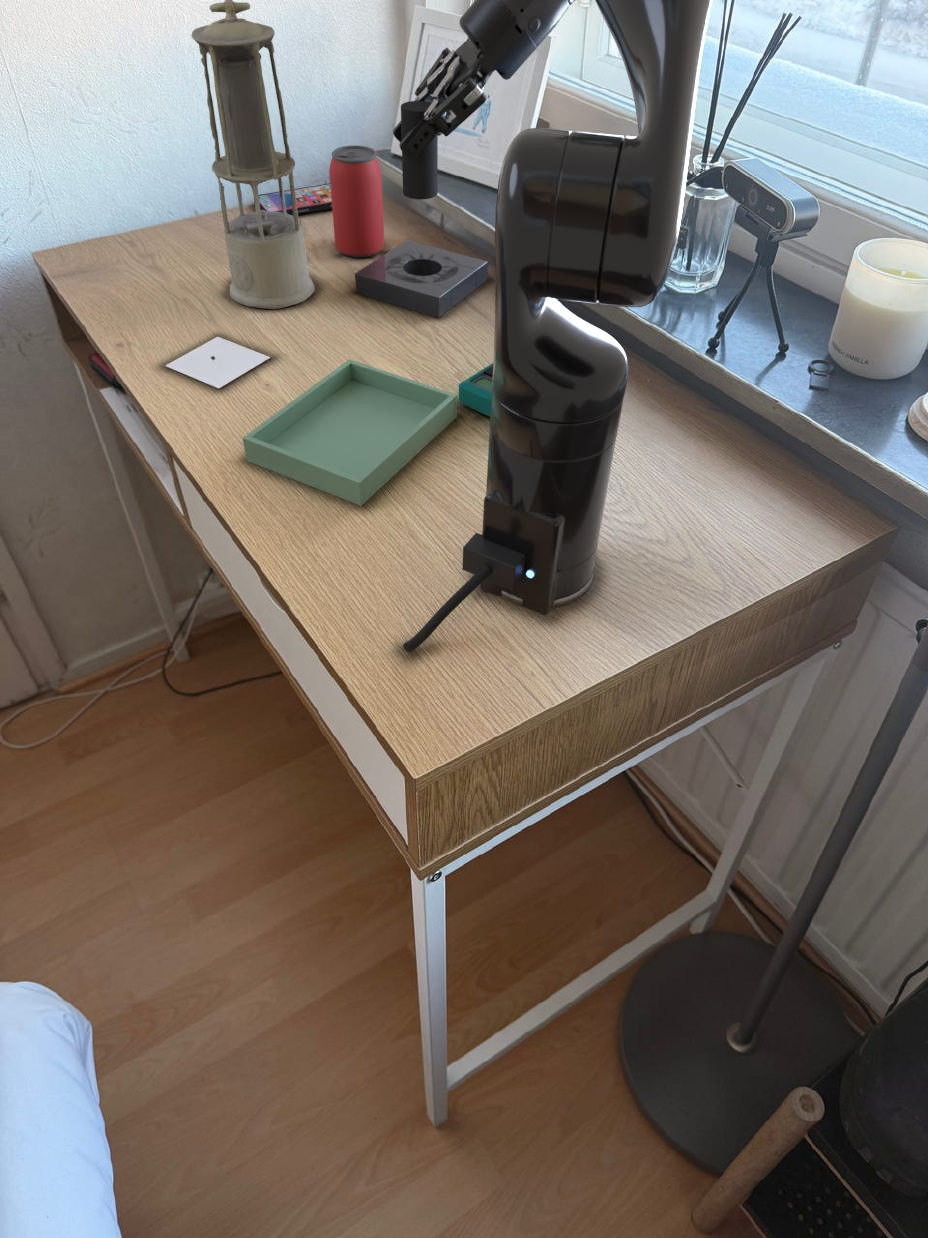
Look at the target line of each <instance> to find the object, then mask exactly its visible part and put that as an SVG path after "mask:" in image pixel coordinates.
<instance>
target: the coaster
mask: <svg viewBox="0 0 928 1238" xmlns="http://www.w3.org/2000/svg"><path fill="white" fill-rule="evenodd" d="M270 358H271V357H270V356H268V355H266V354H263V353H260V352H258V351H256V350H253V349H250V348H248V347H245V346H243V345H240V344H237V343H235V342H233V341H230V340H229V339H228V340H227V339H225V338H222V337H220V336H216V337H213V339H211V340H209V341H207V342H205V343H203V344H202V345H200V346H197V347H196V348H195V349H192V350H190V351H189V352H187V353H186V354H184V355H182V356H179V357H178V358H176V359H175V360H173V361H171V362H169V363H167V364H166V365H164V367H167V368H169V369H171V370H174V371H176V372H179V373H181V374H183V375H186V376H188V377H191V378H193V379H195V380H196V381H197V380H198V381H200V382H203V383H204V384H207V385H209V386H212V387H213V388H216V389H221V388H222V387H224V386H225V385H227V384H229V383H230V382H232V381H234V380H235V379H237V378H239V377H241V376H242V375H244V374H245V373H247V372H249V371H250V370H252V369H254V368H256V367H258V366H259V365H261V364H262V363H264V362H265V361H267V360H269V359H270Z"/></svg>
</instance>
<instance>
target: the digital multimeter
mask: <svg viewBox="0 0 928 1238" xmlns="http://www.w3.org/2000/svg"><path fill="white" fill-rule="evenodd" d="M492 379H493V362H492V363H491V364H489V365H488V366H486V367H484V368H483V369H481V370H480V371H478V372H476V373H475V374H473V375H471V376H470V377H468V378H467V379H465V380H463V381H461V382H460V383H459V384H458V395H457V401H458V402H460V403H461V404H462V405H464V406H466V407H469V408H470V409H472V410H473V411H476V412H478V413H480V414H483V415H485V416H487V417H489V418H490V417H491V399H492Z"/></svg>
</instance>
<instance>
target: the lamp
mask: <svg viewBox="0 0 928 1238" xmlns="http://www.w3.org/2000/svg"><path fill="white" fill-rule="evenodd" d="M250 9H251V4H250V3H249V2H246V1H245V2H239V1H237V2H236V1H234V0H224V1H223V2H215V3H212V4H210V5H209V10H210V12H211V13H225V14H226V15H225V17H224V18H222V19H218V20H215V21H213V22H211V23H210V24H206V25H203V26H199V27H197V28H194V29H193V30H192V32H191V38H192V40H194V41H195V43H197V45H198V49H199V53H200V55H201V57H202V58H201V60H200V61H201V64H202V65H203V71H204V72H203V73H204V78H205V79H204V80H205V84H206V92H207V95H206V97H207V98H206V102H207V103H206V105H207V107H208V114H209V125H210V131H211V136H212V138H213V141H214V151H215V152H214V159H215V160H214V162H213V163H212V164H211V171H212V172H213V173H214V174H215V176H216V178H217V183H218V190H219V200H220V210H221V214H222V215H221V216H222V221H223V228H224V229H223V232H224V239H225V244H226V245H225V246H226V250H227V258H228V263H229V264H228V265H229V271H230V277H231V283H230V285H229V296H230V298H231V299H232V300H234V301H235V302H237V303H238V304H240V305H243V306H246V307H250V308H259V309H270V310H277V309H284V308H286V307H290V306H295V305H297V304H300V303H302V302H305V301H306V300H308V298H310V297H311V296H312V295H313V293H314V291H315V290H316V287H315V285H314V281H313V280H312V277H311V276H310V273H309V264H308V258H307V253H306V252H307V251H306V245H305V239H304V228H303V224H302V221H301V220H300V218H299V214H298V211H297V203H296V195H295V189H296V188H295V181H294V175H293V173H294V169H295V167H296V160H295V159H294V158H293V157H292V156H291V151H290V146H289V143H288V133H287V124H286V123H287V122H286V115H285V109H284V108H285V107H284V103H283V102H284V101H283V96H282V92H281V89H280V85H279V84H280V83H279V78H278V74H277V68H276V60H275V55H274V53H275V48H274V43H273V39H274V37H275V33H276V32H275V29H274V28H273V27H272V26H269V25H266V24H262V23H258V22H254V21H249V20H247V19H245V18H238V16H237V14H239V13H242V12H245V11H249V10H250ZM263 48H265V49H267V51H268V55H269V60H270V65H271V71H272V78H273V82H274V88H275V94H276V100H277V107H278V112H279V118H280V126H281V132H282V140H283V145H284V153H283V152H281V151H276V149H275V144H274V139H273V134H272V133H273V132H272V124H271V119H270V112H269V106H268V100H267V95H266V86H265V81H264V77H263V68H262V67H263V66H262V62H261V60H262V54H261V53H260V51H261V49H263ZM207 54H209V56H210V61H211V67H212V73H213V83H214V92H215V98H216V104H217V112H218V119H219V125H220V131H221V136H222V142H223V147H224V148H223V149H224V155H223V156H221V150H220V143H219V142H220V141H219V135H218V128H217V121H216V115H215V114H216V113H215V108H214V100H213V96H212V91H211V83H210V82H211V81H210V74H209V68H208V56H207ZM283 177H288V182H289V190H290V191H291V199H292V209H293V215H289V214H287V213H286V208H285V197H284V191H285V190H284V184H283V183H284V182H283V179H282V178H283ZM221 179H223V180H225V181H228V182H229V183H232V184H234V185H235V189H236V195H237V196H236V197H237V203H238V208H239V209H238V210H239V215H238V216H236V217H234V218H232V219H230V220H229V217H228V216H229V215H228V210H227V209H228V208H227V204H226V197H225V185H223V182H222V181H221ZM271 180H275V181H276V180H277V182H278V183H277V184H278V192H279V191H280V198H281V207H282V212H273V211H265V210H260V204H259V196H258V195H259V188H258V186H259V184H260V185H261V184H263V183H265V182H269V181H271ZM241 184H244V185H249V186H250V188H251V191H252V195H253V202H254V201H255V203H254V207H255V211H253V212H248V213H245V212H244V204H243V203H244V201H243V195H242V194H243V193H242V189H241Z"/></svg>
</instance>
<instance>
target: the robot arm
mask: <svg viewBox="0 0 928 1238" xmlns="http://www.w3.org/2000/svg"><path fill="white" fill-rule="evenodd" d="M575 1H576V0H474V1H473V2H472V4H471V5H470V6H469V7H468V8H467V9H466V11H465V12H464V13H463V15H462V16H461V17H460V19H459V21H458V22H459V27H460V29H461V30H462V31H463V32H464V33H465V35H466V36H467V38H466V40H465V41H464V42H463V43H462V44H461V45H460V46H459V47H457V48H456V49H453V50H452V51H451V50H450V49H449V47H446V48H444V49H443V50H442V51H441V53H440V55H439V56H438V57H437V59H436V60H435V62H434V63H433V65H432V66H431V68H430V69H429V70H428V72H427V74H426V75H425V76H424V78H423V79H422V81H421V82H420V84H419V85H418V86H417V88H416V89H415V91H414V95H415V96H416V97H415V98H414V100H413V101H427V102H432V104H431V105H430V106H429V108H428V109H427V111H426V112H425V113H424V115H423V117H422V119H423V120H424V121H423V120H422V119H420V120H419V121H418V122H417V123H416V124H415V126H414V127H413V128H412V129H411V130H410V131H409V133H408V134H407V135H406V136H405V137H404V139H403V140H402V135H401V120H400V121H399V122H398V123H397V124H396V125H395V127H394V128H393V130H392V134H393V137H394V138H395V139H396V140H397V141H398V142H399V149H400V150H401V153H402V152H403V153H404V154H405V155H406V156H407V157H408V158H409V159H410V160H415V159H416V158H417V157H418V156H419V155H420V154H421V153H422V151H423V150H424V149H425V148H426V147H427V146H428V144H429V143H430V142H431V141H432V140H433V139H434V137H435V136H436V134H437V135H438V137H441V135H444V137H448V136H449V135H451V134H452V133H453V132H454V131H455V130H456V129H458V127H459V126H460V125H462V124H463V123H464V122H465V121H466V120H468V118H469V117H471V116H472V115H473V114H474V113H475V112H476V111H477V110H479V108H480V107H482V105H484V104H485V103H486V101H487V99H488V96H487V94H486V93H485V92H484V91H483V90H484V89H485V85H486V84H487V82H488V81H489V79H490V78H491V77H492V75H493V73H494V72H495V71H496V72H497V74H498V75H499V76H500V77H501V78H502V79H503V80H504V81H505V80H506V81H508V80H510V79H511V78H512V77H513V76H514V75H515V73H516V72H517V71H518V70H520V68H521V67H522V65H524V63H525V62H526V61H527V60H528V59H529V58H530V57H531V56H532V54H533V53H534V52H535V51H536V49H537V48H538V47H539V46H541V44H542V43H543V41H545V39H547V37H548V36H549V35H550V34H551V33H552V31H553V30H554V29H555V28H556V27H557V25H558V24H559V22H560V21H561V19H562V18H563V17H564V15H565V13H566V12H567V11H568V9H569V8H570V6H571V5H573V4H574V2H575ZM594 2H595V3H596V6H597V8H598V10H599V12H600V14H601V16H602V19H603V20H604V22H605V24H606V27H607V28H608V30H609V32H610V35H611V37H612V38H613V41H614V42H615V45H616V47H617V49H618V52H619V54H620V56H621V59H622V62H623V65H624V68H625V71H626V74H627V77H628V78H627V79H628V81H629V85H630V88H631V91H632V97H633V101H634V107H635V115H636V123H637V130H638V131H637V133H638V135H636V136H630V135H626V136H625V137H624V135H621V134H620V135H619V134H611V133H610V134H609V133H597V132H589V131H580V130H579V131H578V130H571V129H570V130H568V129H558V128H547V127H546V128H545V127H532V128H530V127H529V128H526V129H523V130H522V131H521V132H519V133H517V134H516V136H515V137H514V138H513V139H512V141H511V142H510V144H509V145H508V148H507V149H506V153H505V155H504V158H503V160H502V164H501V167H500V172H499V176H498V177H499V178H498V184H497V193H496V200H495V201H496V202H495V216H494V217H495V220H494V221H495V223H494V228H495V229H494V272H495V273H494V275H495V276H494V281H495V282H494V283H495V284H494V285H495V289H494V290H495V295H494V296H495V297H494V299H495V300H494V301H495V303H494V335H493V336H494V337H493V361H492V363H493V379H492V399H491V417H489V431H488V432H489V435H488V450H487V451H488V453H487V470H486V471H487V473H486V488H485V489H486V491H485V496H484V499H483V510H482V512H483V513H482V528H481V529H482V530H481V533H479V532H475V533H474V534H473V535H472V536H471V537H470V539H468V541H467V542H466V543H465V544H464V545H463V547H462V568H461V569H462V571H464V572H468V573H470V574H471V575H472V577H471V578H469V579H468V580H467V581H466V582H465V583H464V584H463V585H462V586H461V587H460V588H459V589H458V590H457V591H456V592H455V593H454V594H453V595H452V596H451V597H450V598H449V599H447V601H445V603H444V604H443V605H442V606H441V607H440V608H439V609H438V610H437V611H436V612H435V613H434V614H433V615H432V616H431V617H430V619H429V620H428V621H427V622H426V623H425V625H423V627H422V628H421V629H420V630H419V631H418V632H417V633H416V634H415V635H413V637H411V638H410V639H409V640H408V641H406V642H404V643H403V644H402V646H403V649H404V650H405V652H407V653H411V652H413V651H415V650H416V649H418V648H419V647H420V646H421V645H422V644H423V643H424V642H425V641H427V640H428V639H429V637H430V636H431V635H432V634H433V633H434V632H435V630H436V629H437V628H438V627H439V626H440V625H441V624H442V623H443V622H444V620H445V619H446V618H448V616H449V615H450V614H451V613H452V612H454V610H455V609H456V608H457V607H458V606H460V604H461V603H462V602H464V600H465V599H466V598H467V597H468V596H469V595H470V594H472V593H473V592H474V591H475V590H476V589H477V588H478V587H479V589H480V590H482V591H484V592H488V593H490V594H492V595H493V596H496V597H498V598H501V599H504V600H505V601H508V602H510V603H513V604H514V605H518V606H520V607H523V608H526V609H527V610H531V611H532V612H535V613H538V614H540V615H543V616H547V615H548V614H550V612H551V610H553V609H554V608H557V607H561V606H565V605H568V604H570V603H572V602H575V601H576V600H578V599H579V598H581V597H582V596H583V595H584V594H586V593H587V591H589V588H590V587H591V585H592V583H593V580H594V574H595V568H596V567H595V563H596V557H597V552H598V545H599V540H600V532H601V527H602V522H603V515H604V511H605V505H606V499H607V493H608V487H609V482H610V475H611V469H612V464H613V459H614V454H615V447H616V442H617V437H618V431H619V427H620V426H619V425H620V421H621V415H622V409H623V403H624V398H625V395H626V388H627V384H628V383H627V382H628V377H629V361H628V356H627V353H626V351H625V350H624V348H623V347H622V346H621V344H620V343H619V342H618V341H617V340H616V339H615V338H614V337H613V336H612V335H610V334H609V333H608V332H606V331H605V330H603V329H602V328H599V327H598V326H596V325H594V324H592V323H590V322H589V321H587V320H585V319H583V318H582V317H580V316H578V315H576V313H574V312H572V311H571V310H569V309H568V308H567V307H566V306H565V305H564V304H563V303H561V301H562V300H563V301H570V302H577V303H578V302H579V303H586V304H593V305H597V304H599V306H600V305H601V306H607V307H610V306H611V307H618V308H619V307H620V308H642V307H645V306H648V305H650V304H651V303H652V302H654V301H655V300H656V299H657V298H658V297H659V295H660V294H661V292H662V290H663V288H664V287H665V284H666V282H667V279H668V277H669V274H670V271H671V268H672V264H673V261H674V258H675V253H676V249H677V245H678V239H679V235H680V228H681V223H682V216H683V209H684V201H685V194H686V193H685V192H686V186H687V177H688V167H689V160H690V152H691V145H692V144H691V143H692V135H693V128H694V119H695V112H696V111H695V110H696V102H697V95H698V87H699V78H700V70H701V64H702V57H703V52H704V51H703V50H704V45H705V40H706V39H705V38H706V32H707V29H708V23H709V18H710V13H711V8H712V3H713V0H594ZM444 115H445V116H444Z"/></svg>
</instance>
